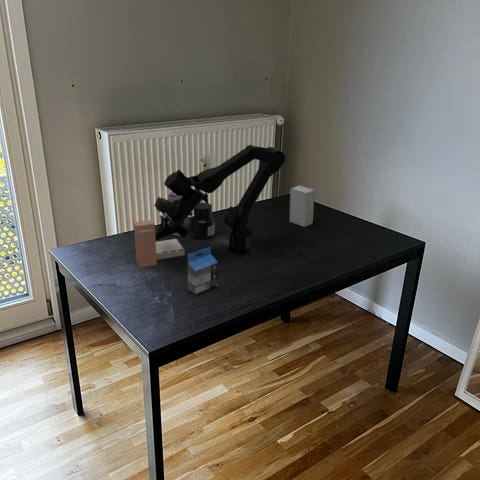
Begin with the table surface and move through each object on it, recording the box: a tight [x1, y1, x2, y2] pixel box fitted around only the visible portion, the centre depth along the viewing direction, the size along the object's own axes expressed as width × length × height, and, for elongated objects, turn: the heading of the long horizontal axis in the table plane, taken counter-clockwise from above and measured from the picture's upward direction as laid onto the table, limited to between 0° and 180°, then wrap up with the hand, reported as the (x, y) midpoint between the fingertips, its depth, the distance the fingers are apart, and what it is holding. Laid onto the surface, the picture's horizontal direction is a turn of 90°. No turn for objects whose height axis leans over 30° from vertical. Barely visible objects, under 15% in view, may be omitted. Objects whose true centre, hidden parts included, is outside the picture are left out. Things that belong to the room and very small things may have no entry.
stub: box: [133, 219, 158, 269], centre depth 157 cm, size 6×4×15 cm, turn 114°
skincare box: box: [288, 185, 315, 228], centre depth 194 cm, size 8×6×15 cm
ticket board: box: [156, 238, 186, 260], centre depth 168 cm, size 14×10×2 cm
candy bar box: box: [167, 191, 191, 237], centre depth 183 cm, size 11×5×16 cm, turn 168°
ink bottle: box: [190, 202, 215, 240], centre depth 181 cm, size 10×9×12 cm
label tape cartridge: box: [187, 246, 219, 295], centre depth 144 cm, size 9×4×12 cm, turn 131°
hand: (155, 239), depth 157 cm, fingers closed, pressing on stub
